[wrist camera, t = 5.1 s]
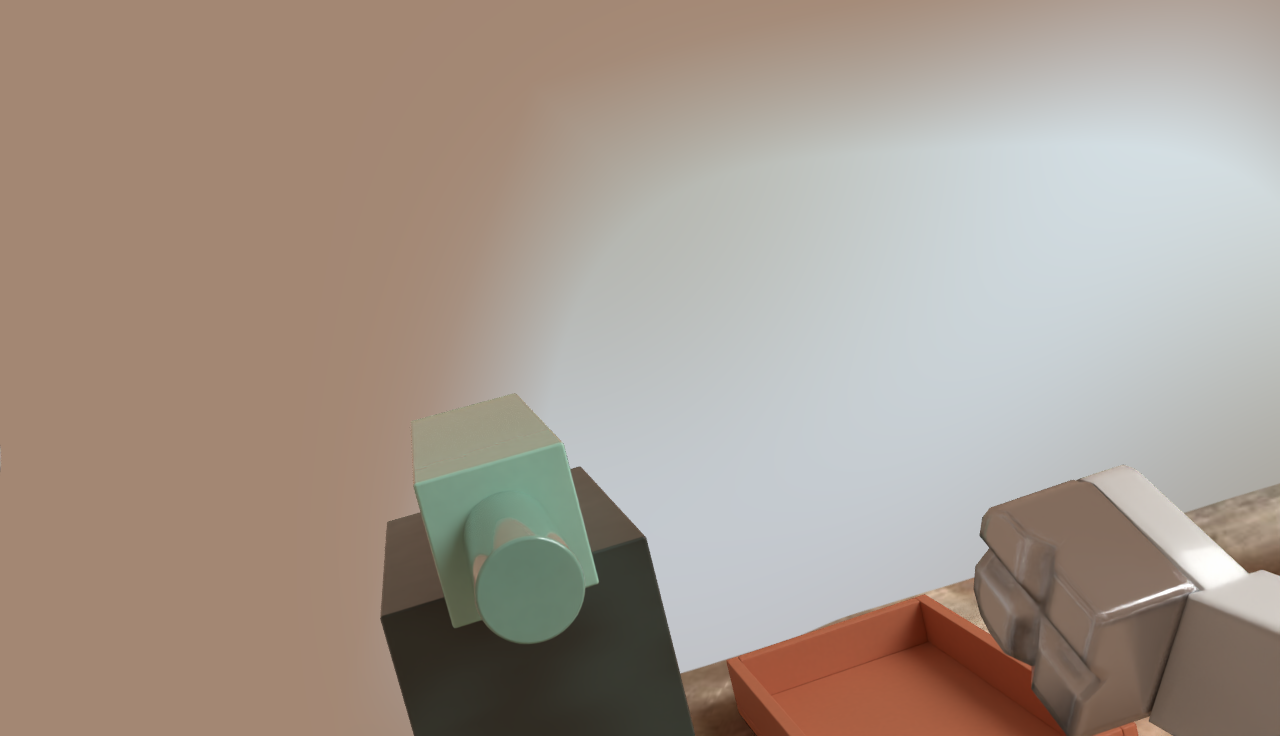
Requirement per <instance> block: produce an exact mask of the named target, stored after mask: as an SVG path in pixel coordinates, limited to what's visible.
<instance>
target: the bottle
mask: <svg viewBox="0 0 1280 736" xmlns="http://www.w3.org/2000/svg"><path fill="white" fill-rule="evenodd" d="M411 439H412V440H411V441H412V463H413V483H414V484H413V486H414V490H415V494H416V498H417V501H418V505H419V508H420V512H421V515H422V519H423V523H424V526H425V530H426V533H427V537H428V541H429V544H430V548H431V551H432V555H433V558H434V562H435V566H436V569H437V573H438V576H439V580H440V583H441V587H442V591H443V594H444V598H445V601H446V605H447V609H448V612H449V616H450V619H451V623H452V626H453V627H454V628H458V627H462V626H465V625H468V624H471V623H475V622H478V621H481V620H482V621H483V622H484V623H485V625H486V626H487V627H488V628H489V629H490V630H491V631H492V632H493V633H494V634H496V635H497V636H499V637H500V638H502V639H504V640H507V641H509V642H513V643H518V644H536V643H541V642H545V641H547V640H550V639H552V638H554V637H556V636H558V635H559V634H560V633H562V632H563V631H564V630H566V629H567V628H568V627H569V626H570V625H571V623H572V622H573V621H574V620H575V618H576V617H577V615H578V613H579V611H580V609H581V607H582V604H583V601H584V596H585V588H587V587H590V586H594V585H597V584H598V583H599V579H598V575H597V571H596V567H595V563H594V559H593V556H592V552H591V548H590V544H589V540H588V536H587V532H586V528H585V524H584V521H583V517H582V513H581V509H580V505H579V501H578V497H577V493H576V490H575V486H574V482H573V478H572V474H571V470H570V466H569V462H568V458H567V455H566V451H565V447H564V444H563V443H562V442H561V440H560V439H559V438H558V437H557V436H556V435H555V434H554V433H553V432H552V431H551V430H550V429H549V428H548V427H547V426H546V425H545V424H544V423H543V422H542V420H541V419H540V418H539V417H538V416H537V415H536V414H535V413H534V412H533V411H532V410H531V409H530V408H529V407H528V406H527V405H526V404H525V402H524V401H523V400H522V399H521V398H520V397H519V396H518V395H517V394H515V393H514V394H510V395H507V396H503V397H499V398H496V399H492V400H488V401H484V402H481V403H477V404H473V405H470V406H466V407H463V408H459V409H455V410H451V411H447V412H444V413H440V414H436V415H433V416H429V417H425V418H422V419H418V420H414V421H412V422H411Z"/></svg>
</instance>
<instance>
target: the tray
mask: <svg viewBox="0 0 1280 736" xmlns="http://www.w3.org/2000/svg"><path fill="white" fill-rule="evenodd" d="M727 666H728V670H729V674H730V678H731V682H732V686H733V690H734V695H735V699H736V702H737V707H738V711H739V713H740V715H741V716H742V717H743V718H744V720H745V721H746V722H747V724H748V725H749V726H750V728H751V729H752V730H753V732H754V733H755V734H756V735H757V736H1067V735H1066V734H1065V733H1064V731H1063V730H1062V729H1061V727H1060V726H1059V725H1058V724H1057V722H1056V721H1055V720H1054V718H1053V717H1052V716H1051V714H1050V713H1049V712H1048V710H1047V709H1046V708H1045V706H1044V705H1043V704H1042V703H1041V701H1040V700H1039V699H1038V697H1037V696H1036V695H1035V693H1034V692H1033V691H1032V689H1031V667H1032V666H1030V665H1028V664H1026V663H1024V662H1021V661H1019V660H1017V659H1015V658H1013V657H1011V656H1009V655H1007V654H1005V653H1004V652H1003V651H1002V649H1001V648H1000V646H999V645H998V644H997V642H996V641H995V640H994V638H993V637H992V635H990V634H989V633H987V632H985V631H984V630H982V629H980V628H979V627H977V626H976V625H974V624H972V623H971V622H969V621H967V620H966V619H964V618H962V617H961V616H959V615H958V614H956V613H954V612H953V611H951V610H949V609H948V608H946V607H945V606H943V605H941V604H940V603H938V602H936V601H935V600H933V599H932V598H930V597H928V596H927V595H925V594H924V595H921V596H918V597H915V598H912V599H909V600H906V601H903V602H900V603H897V604H894V605H891V606H888V607H885V608H882V609H879V610H876V611H873V612H870V613H867V614H864V615H861V616H858V617H855V618H852V619H849V620H846V621H843V622H840V623H837V624H834V625H831V626H828V627H825V628H822V629H819V630H816V631H813V632H810V633H807V634H804V635H801V636H798V637H795V638H792V639H789V640H786V641H783V642H780V643H777V644H774V645H771V646H768V647H765V648H762V649H759V650H756V651H753V652H750V653H747V654H744V655H741V656H738V657H735V658H732V659H729V660H727ZM1093 736H1138V731H1137V726H1136V724H1135V723H1134V722H1131V723H1128V724H1126V725H1123V726H1120V727H1117V728H1114V729H1111V730H1108V731H1105V732H1102V733H1099V734H1096V735H1093Z"/></svg>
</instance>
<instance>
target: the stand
mask: <svg viewBox="0 0 1280 736" xmlns="http://www.w3.org/2000/svg"><path fill="white" fill-rule="evenodd" d="M570 470H571V474H572V478H573V482H574V486H575V490H576V493H577V497H578V501H579V505H580V509H581V513H582V517H583V521H584V524H585V528H586V532H587V536H588V540H589V544H590V548H591V552H592V556H593V559H594V563H595V567H596V571H597V575H598V579H599V583H598V584H597V585H594V586H590V587H587V588H585V596H584V601H583V604H582V607H581V609H580V611H579V613H578V615H577V617H576V618H575V620H574V621H573V622H572V623H571V625H570V626H569V627H568V628H567V629H566V630H564V631H563V632H562V633H560V634H559V635H558V636H556V637H554V638H552V639H550V640H547V641H545V642H541V643H536V644H518V643H513V642H509V641H507V640H504V639H502V638H500V637H499V636H497V635H496V634H494V633H493V632H492V631H491V630H490V629H489V628H488V627H487V626H486V625H485V623H484V622H483V621H482V620H481V621H478V622H475V623H471V624H468V625H465V626H462V627H458V628H454V627H453V626H452V623H451V619H450V616H449V612H448V609H447V605H446V601H445V598H444V594H443V591H442V587H441V583H440V580H439V576H438V573H437V569H436V566H435V562H434V558H433V555H432V551H431V548H430V544H429V541H428V537H427V533H426V530H425V526H424V523H423V519H422V515H421V512H420V513H417V514H413V515H410V516H407V517H403V518H399V519H396V520H392V521H389V522H387V531H386V546H385V560H384V574H383V589H382V603H381V618H380V619H381V623H382V626H383V630H384V633H385V637H386V640H387V644H388V647H389V651H390V654H391V657H392V661H393V664H394V668H395V671H396V675H397V678H398V682H399V685H400V689H401V692H402V696H403V699H404V702H405V706H406V709H407V713H408V716H409V720H410V723H411V727H412V730H413V734H414V736H696V735H695V731H694V727H693V723H692V719H691V715H690V711H689V707H688V703H687V699H686V695H685V691H684V687H683V683H682V679H681V675H680V671H679V667H678V663H677V659H676V655H675V651H674V647H673V643H672V639H671V635H670V631H669V627H668V624H667V619H666V615H665V611H664V607H663V603H662V600H661V595H660V591H659V588H658V583H657V579H656V575H655V571H654V567H653V563H652V559H651V555H650V551H649V547H648V543H647V540H646V537H645V536H644V535H643V534H642V533H641V532H640V530H639V529H638V528H637V527H636V526H635V525H634V524H633V523H632V522H631V521H630V520H629V519H628V517H627V516H626V515H625V514H624V513H623V512H622V511H621V510H620V509H619V508H618V507H617V505H615V503H614V502H613V501H612V500H611V499H610V498H609V497H608V496H607V495H606V494H605V492H604V491H603V490H602V489H601V488H600V487H599V486H598V485H597V484H596V483H595V482H594V481H593V479H592V478H591V477H590V476H589V475H588V474H587V473H586V472H585V471H584V470H583V469H582V468H581V467H576V468H573V469H570Z"/></svg>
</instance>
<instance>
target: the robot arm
mask: <svg viewBox="0 0 1280 736" xmlns="http://www.w3.org/2000/svg"><path fill="white" fill-rule="evenodd" d="M0 470H1V447H0ZM980 537H981V538H982V539H983V540H984V542H985V543H986V544H987V545H988V547H989V549H988V551H987V552H986V553H985V555H984V556H983V557H982V559H981V560H980V561H979V562H978V564H977V565H976V567H975V579H974V592H975V596H976V600H977V604H978V607H979V611H980V615H981V617H982V619H983V621H984V623H985V624H986V626H987V628H988V630H989V632H990V634H991V635H992V637H993V638H994V640H995V641H996V642H997V644H998V645H999V646H1000V648H1001V649H1002V651H1003V652H1004V653H1005V654H1007V655H1009V656H1011V657H1013V658H1015V659H1017V660H1019V661H1021V662H1024V663H1026V664H1028V665H1030V666H1032V667H1031V689H1032V691H1033V692H1034V693H1035V695H1036V696H1037V697H1038V699H1039V700H1040V701H1041V703H1042V704H1043V705H1044V706H1045V708H1046V709H1047V710H1048V712H1049V713H1050V714H1051V716H1052V717H1053V718H1054V720H1055V721H1056V722H1057V724H1058V725H1059V726H1060V727H1061V729H1062V730H1063V731H1064V733H1065V734H1066V735H1067V736H1093V735H1096V734H1099V733H1102V732H1105V731H1108V730H1111V729H1114V728H1117V727H1120V726H1123V725H1126V724H1128V723H1131V722H1134V721H1137V720H1140V719H1143V718H1146V717H1149V716H1150V719H1149V722H1151V723H1153V724H1154V725H1156V726H1158V727H1159V728H1161V729H1163V730H1165V731H1166V732H1168V733H1170V734H1171V735H1173V736H1280V576H1278V575H1275V574H1273V573H1270V572H1267V571H1265V570H1259V571H1255V572H1252V573H1248V572H1247V571H1246V570H1244V569H1243V568H1242V567H1241V566H1240V565H1239V564H1238V563H1237V562H1236V561H1235V560H1234V559H1233V558H1232V557H1230V556H1229V555H1228V554H1227V553H1226V552H1225V551H1224V550H1223V549H1222V548H1221V547H1220V546H1219V545H1217V544H1216V543H1215V542H1214V541H1213V540H1212V539H1211V538H1210V537H1209V536H1208V535H1207V534H1206V533H1205V532H1203V531H1202V530H1201V529H1200V528H1199V527H1198V526H1197V525H1196V524H1195V523H1194V522H1193V521H1192V520H1190V519H1189V518H1188V517H1187V516H1186V515H1185V514H1184V513H1183V512H1182V511H1181V510H1180V509H1179V508H1177V507H1176V506H1175V505H1174V504H1173V503H1172V502H1171V501H1170V500H1169V499H1168V498H1167V497H1166V496H1165V495H1163V494H1162V493H1161V492H1160V491H1159V490H1158V489H1157V488H1156V487H1155V486H1154V485H1152V484H1151V483H1150V482H1149V481H1148V480H1147V479H1146V478H1145V477H1144V476H1143V475H1142V474H1141V473H1140V472H1138V471H1137V470H1135V469H1133V468H1131V467H1128V466H1126V465H1121V466H1118V467H1114V468H1111V469H1108V470H1105V471H1102V472H1099V473H1096V474H1093V475H1090V476H1087V477H1083V478H1080V479H1078V480H1076V481H1075V480H1070V481H1067V482H1065V483H1062V484H1059V485H1056V486H1053V487H1050V488H1047V489H1044V490H1041V491H1038V492H1035V493H1032V494H1029V495H1026V496H1023V497H1020V498H1017V499H1015V500H1012V501H1009V502H1006V503H1003V504H1000V505H997V506H994V507H991V508H990V509H989V510H988V511H987V512H986V514H985V515H984V516H983V517H982V523H981V530H980Z"/></svg>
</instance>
